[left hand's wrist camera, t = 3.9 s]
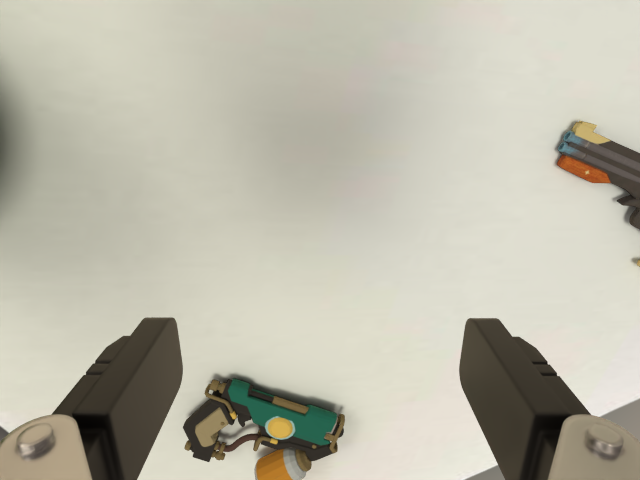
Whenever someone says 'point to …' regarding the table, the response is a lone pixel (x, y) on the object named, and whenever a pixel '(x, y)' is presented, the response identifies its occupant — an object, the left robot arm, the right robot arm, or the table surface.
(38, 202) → the table surface
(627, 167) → the toy gun
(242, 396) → the spray gun
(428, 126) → the table surface
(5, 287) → the table surface
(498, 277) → the table surface
